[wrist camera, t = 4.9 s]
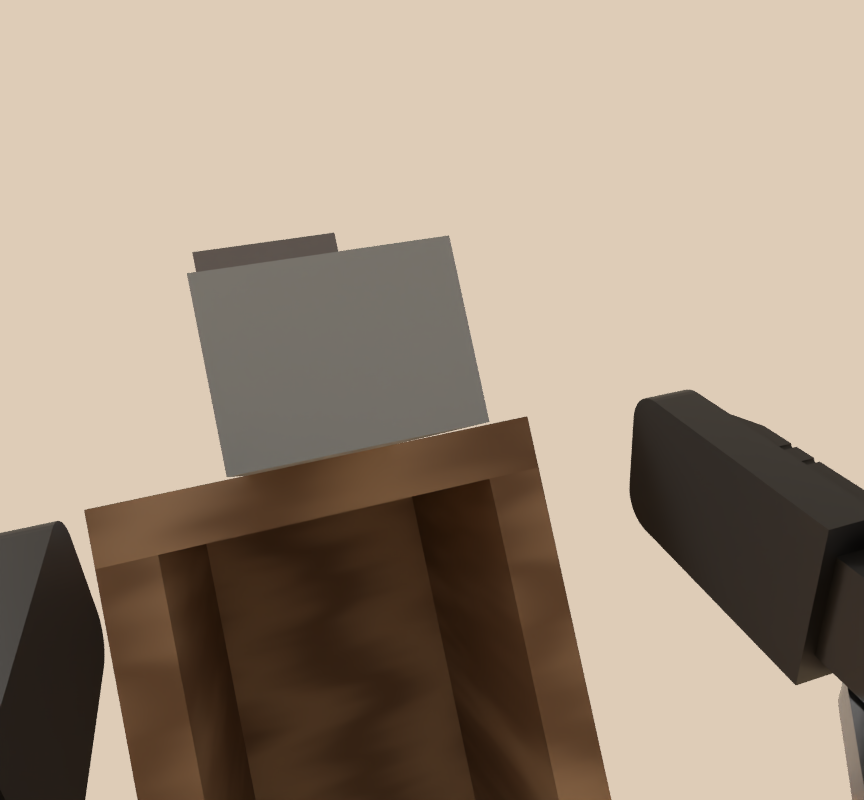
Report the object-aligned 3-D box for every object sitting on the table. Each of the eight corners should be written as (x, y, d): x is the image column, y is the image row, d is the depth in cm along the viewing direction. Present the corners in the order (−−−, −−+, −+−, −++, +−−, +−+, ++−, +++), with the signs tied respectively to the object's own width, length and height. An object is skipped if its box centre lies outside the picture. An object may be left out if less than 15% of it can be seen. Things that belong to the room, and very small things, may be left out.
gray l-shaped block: (190, 484, 10) (87, -52, 11) (244, 477, 32) (208, 299, 32) (519, 415, 11) (414, -65, 12) (356, 453, 33) (320, 282, 33)
